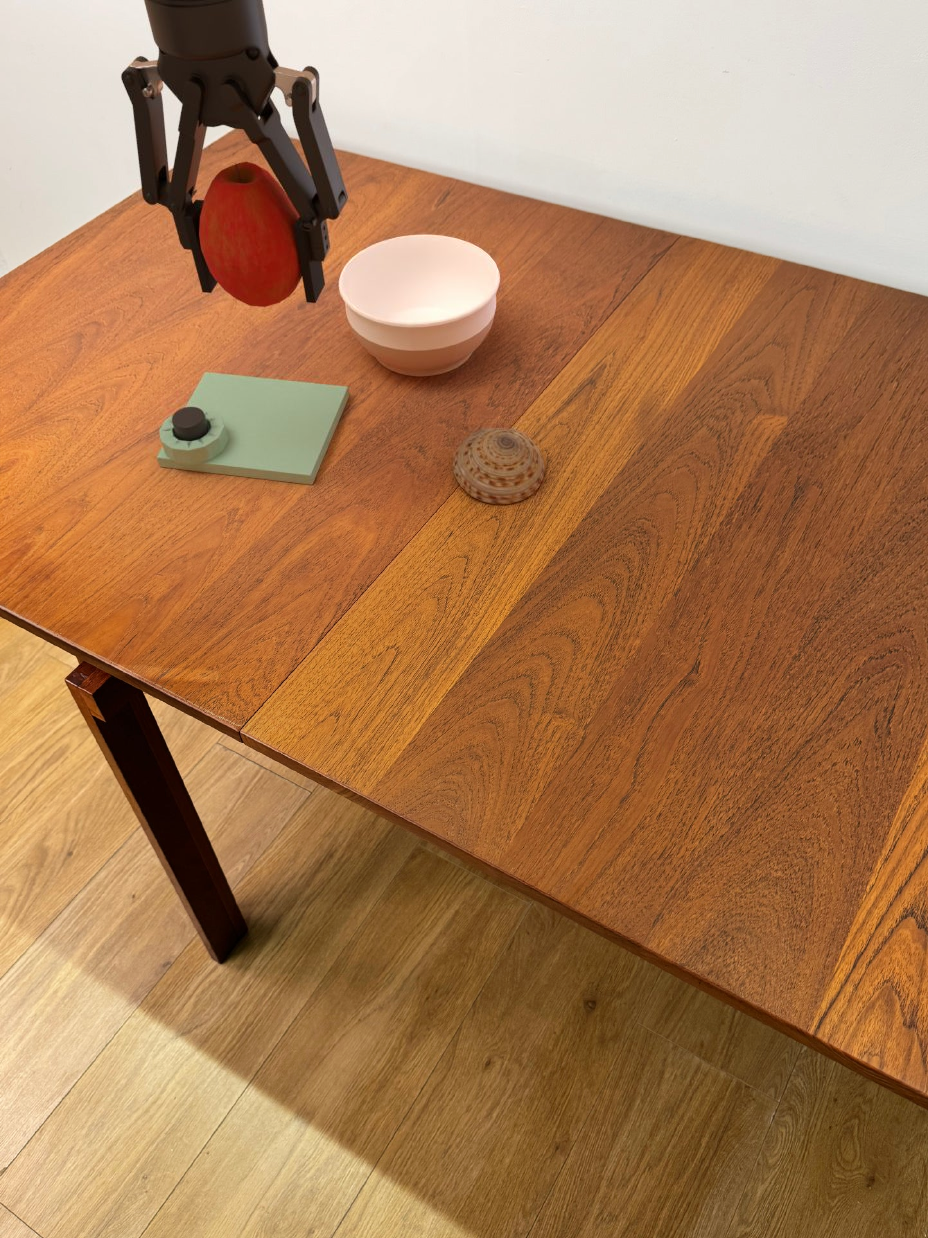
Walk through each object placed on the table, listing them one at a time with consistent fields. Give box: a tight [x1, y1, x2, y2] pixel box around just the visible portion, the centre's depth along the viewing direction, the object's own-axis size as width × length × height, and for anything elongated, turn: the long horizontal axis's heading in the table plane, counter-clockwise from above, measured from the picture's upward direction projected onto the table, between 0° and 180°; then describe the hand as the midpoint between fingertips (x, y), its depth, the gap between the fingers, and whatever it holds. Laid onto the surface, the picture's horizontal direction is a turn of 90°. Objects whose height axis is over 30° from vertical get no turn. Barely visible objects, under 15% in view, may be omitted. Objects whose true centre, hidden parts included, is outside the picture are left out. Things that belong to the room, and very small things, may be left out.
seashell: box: [452, 427, 545, 505], centre depth 91 cm, size 8×6×8 cm
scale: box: [156, 371, 350, 486], centre depth 95 cm, size 15×13×3 cm
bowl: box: [338, 234, 501, 377], centre depth 102 cm, size 16×16×8 cm
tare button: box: [171, 406, 208, 442], centre depth 92 cm, size 3×3×2 cm
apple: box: [199, 161, 302, 308], centre depth 78 cm, size 8×8×11 cm
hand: (263, 287), depth 81 cm, fingers closed on apple, 8 cm apart
